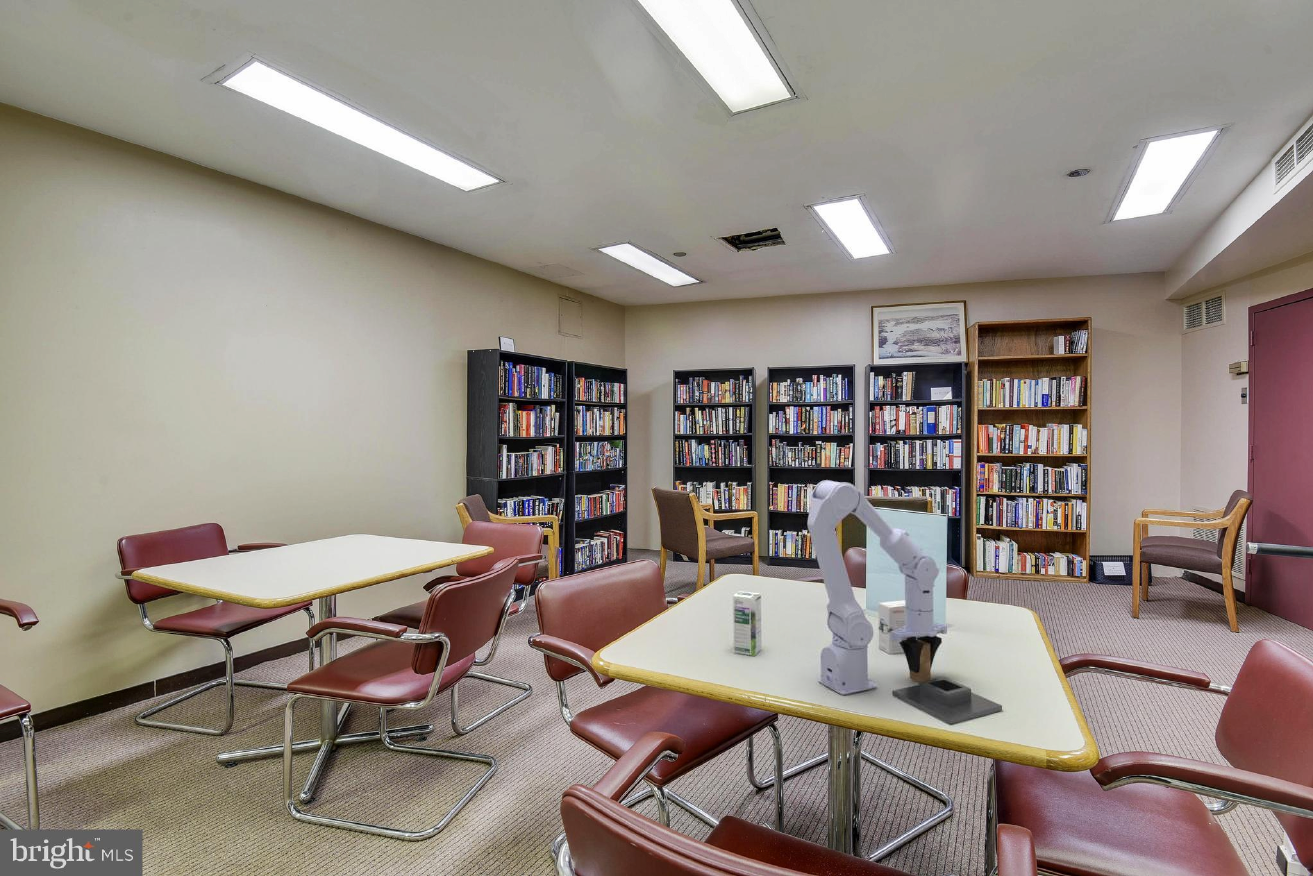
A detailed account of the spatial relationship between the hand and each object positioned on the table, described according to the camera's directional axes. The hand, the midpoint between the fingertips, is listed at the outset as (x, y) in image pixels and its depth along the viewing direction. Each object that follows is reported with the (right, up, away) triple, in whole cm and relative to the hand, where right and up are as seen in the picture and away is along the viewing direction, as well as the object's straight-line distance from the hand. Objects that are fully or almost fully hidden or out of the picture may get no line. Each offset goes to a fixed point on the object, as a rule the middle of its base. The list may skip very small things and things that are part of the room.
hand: (920, 669), depth 131 cm
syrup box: (-35, -3, +19) cm, 40 cm away
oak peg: (0, -2, 0) cm, 2 cm away
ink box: (+3, -2, +19) cm, 19 cm away
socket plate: (0, -2, -12) cm, 12 cm away
